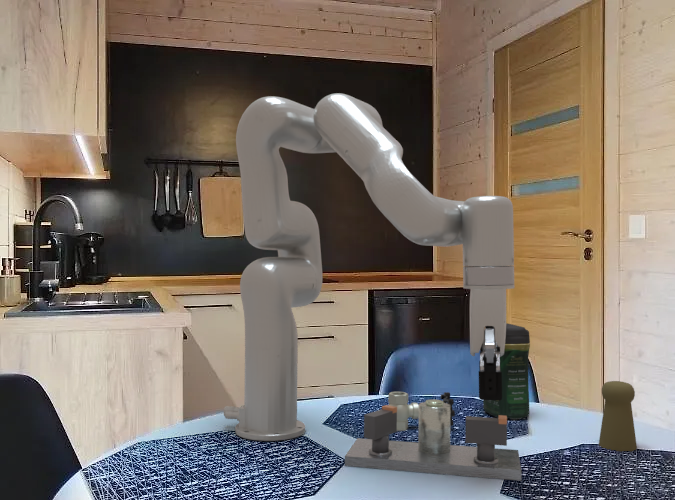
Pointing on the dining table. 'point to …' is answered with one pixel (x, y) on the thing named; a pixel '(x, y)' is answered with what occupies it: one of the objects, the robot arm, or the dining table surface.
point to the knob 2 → (486, 435)
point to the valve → (412, 408)
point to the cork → (618, 417)
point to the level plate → (435, 460)
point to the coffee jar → (513, 376)
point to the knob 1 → (380, 427)
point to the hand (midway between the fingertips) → (490, 393)
